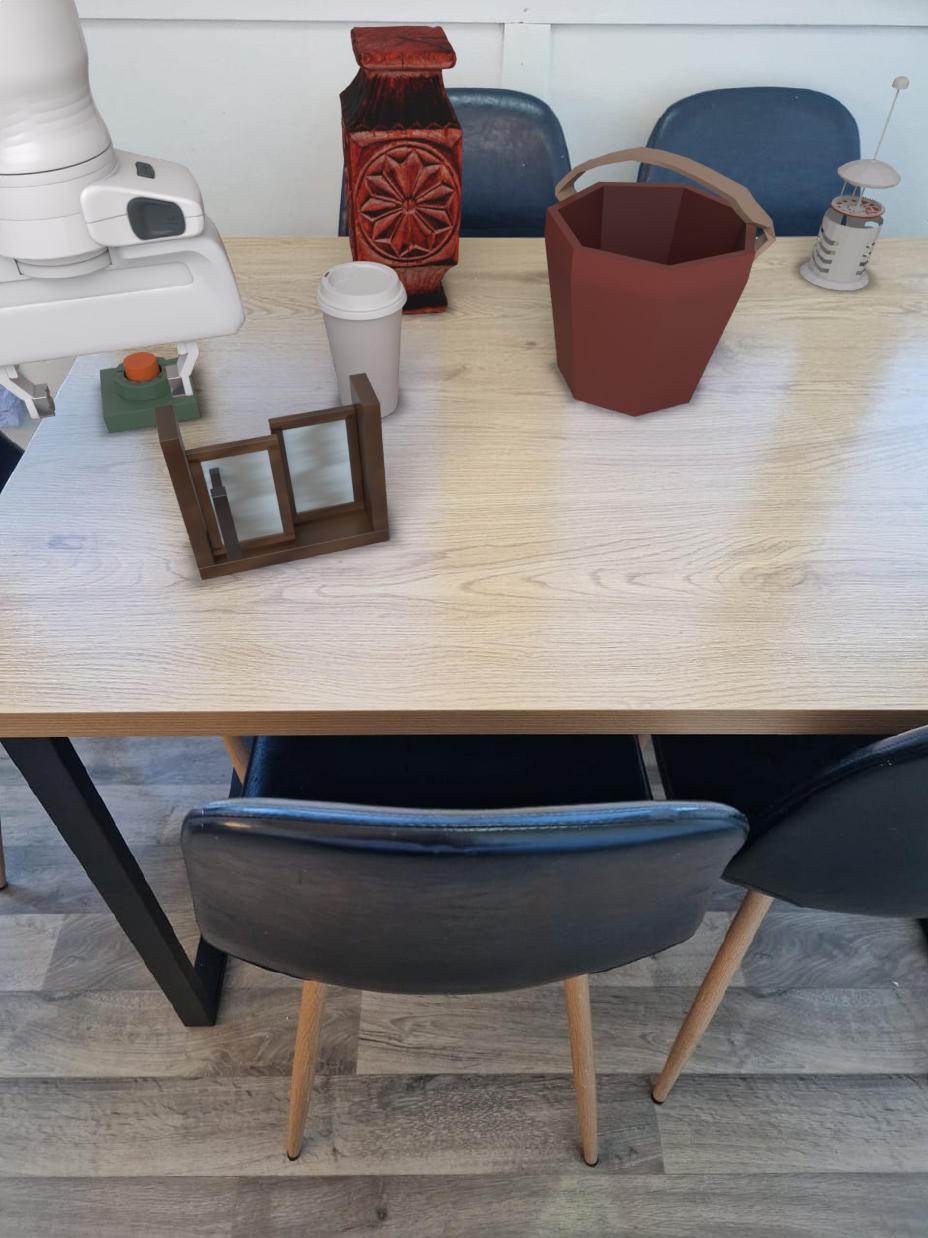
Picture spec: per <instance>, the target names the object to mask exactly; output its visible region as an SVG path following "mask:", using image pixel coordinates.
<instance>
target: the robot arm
mask: <svg viewBox="0 0 928 1238" xmlns="http://www.w3.org/2000/svg"><path fill="white" fill-rule="evenodd" d="M89 59H90V58H89V50H88V45H87V41H86V38H85V34H84V31H83V26H82V22H81V18H80V14H79V11H78V8H77V5H76V1H75V0H0V385H1V386H2V387H3V388H5V389H6V390H8V391H9V392H11V393H12V394H13V395H14V396H15V397H17V398H19V400H21V401H24V404H25V406H26V408H27V411H28V414H29V416H30V418H31V419H32V420H41V419H47V418H53V417H56V412H55V411H56V405H55V401H54V399H53V396H51V391H50V388H49V386H48V383H47V382H46V383H38V384H34V383H33V382H32V381H31V380H30V379H29V378H27V377H26V376H25V375H24V374H23V373H22V372H21V371H20V370H19V369H20V368H19V367H20V365H24V364H25V365H26V364H31V363H38V362H46V361H47V362H48V361H54V360H61V359H69V358H74V357H83V356H89V355H95V354H96V355H97V354H104V353H111V352H119V351H125V350H126V351H127V350H134V349H140V348H147V347H154V346H155V347H156V346H161V345H168V344H169V345H170V344H175V346H176V349H177V352H178V355H179V356H178V357H177V358H178V361H177V364H176V365H170V366H165V367H166V372H167V378H168V382H169V386H170V389H171V393H172V397H173V398H177V397H183V396H190V395H193V391H192V386H191V381H190V377H189V375H191V374H192V372H193V369H194V367H195V364H196V362H197V360H198V357H199V354H200V349H199V345H198V340H199V341H200V340H204V339H213V338H220V337H228V336H233V335H237V334H238V333H239V332H240V331H241V329H242V327H243V325H244V323H245V321H246V313H245V308H244V304H243V299H242V295H241V292H240V289H239V286H238V282H237V279H236V275H235V272H234V269H233V267H232V266H233V265H232V263H231V260H230V258H229V257H230V256H229V255H228V252H227V249H226V247H225V244H224V241H223V239H222V237H221V233H220V232H219V229H218V228H217V226H216V224H215V223H214V221H213V220H212V219H211V218H210V216H209V215H207V213H205V204H204V199H203V195H202V191H201V189H200V186H199V184H198V182H197V179H196V178H195V176H194V175H193V173H192V172H191V171H190V169H189V168H188V167H187V166H185V165H183V164H182V163H178V162H174V161H172V160H171V161H170V160H165V159H161V158H157V157H153V156H149V155H144V154H139V153H135V152H131V151H127V150H124V149H119V148H115V147H114V143H113V139H112V135H111V133H110V131H109V128H108V125H107V124H106V122H105V120H104V118H103V116H102V115H101V112H100V111H99V108H98V107H97V104H96V101H95V98H94V96H93V93H92V92H93V91H92V89H91V88H92V87H91V84H90V73H89V65H90V63H89V62H90V61H89Z"/></svg>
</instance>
